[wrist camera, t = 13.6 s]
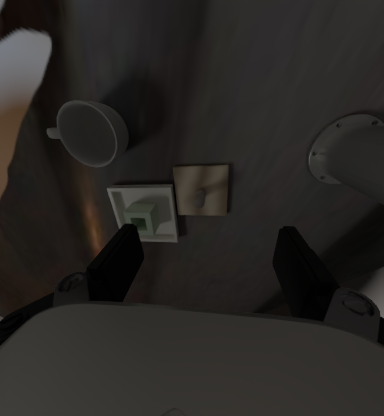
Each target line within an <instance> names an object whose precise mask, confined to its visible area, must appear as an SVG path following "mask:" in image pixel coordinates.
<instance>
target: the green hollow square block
mask: <svg viewBox="0 0 384 416" xmlns="http://www.w3.org/2000/svg"><path fill="white" fill-rule="evenodd" d="M123 214H124V218H125V222H126V223H130V224H134V225H135V226H137V229H138V233H139V235H145V236H154V235H155V233H156V231H157V229H158V227H159V225H160V221H159V215H158V209H157V203H131V205H130V206H129V207H128V208H127V209H126V210H125V211H124V212H123ZM141 218H145V220H142V219H141Z"/></svg>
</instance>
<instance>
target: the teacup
mask: <svg viewBox="0 0 384 416" xmlns="http://www.w3.org/2000/svg"><path fill="white" fill-rule="evenodd" d="M47 134H48V136H49V137H50V138H54V139H61V141H62V143H63V144H64V146H65V147H66V149H67V150H68V152H69V153H70V154H71V155H72V156H73V157H74V158H76V159H77V160H78V161H80V162H82V163H83V164H86V165H88V166H92V167H103V166H106V165H108V164H110V163H111V162H112V161H113V160H115V159H117V158H118V157H120V156H121V155H122V154H123V153H124V152H125V150H126V148H127V146H128V142H129V134H128V129H127V126H126V124H125V122H124V120H123V119H122V117H121V116H120V115H119V114H118V113H117V112H116V111H115V110H114V109H112V108H111V107H109V106H107V105H105V104H102V103H97V102H88V101H81V100H74V101H70V102H67V103H66V104H64V105H63V106H62V107H61V109H60V110H59V112H58V116H57V128H49V129H47Z"/></svg>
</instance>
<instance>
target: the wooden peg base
mask: <svg viewBox="0 0 384 416" xmlns="http://www.w3.org/2000/svg"><path fill="white" fill-rule="evenodd" d="M228 170H229V166H228V165H212V166H177V167H173V173H174V182H175V191H176V200H177V209H178V215H227V193H228Z"/></svg>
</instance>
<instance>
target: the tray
mask: <svg viewBox="0 0 384 416" xmlns="http://www.w3.org/2000/svg"><path fill="white" fill-rule="evenodd" d="M107 191H108V194H109V197H110V200H111V203H112V207H113V210H114V213H115V216H116V219H117V223H118V226H119V229H120V228H121V227H122V226H123V225H124V224H125V223H126V222H125V218H124V214H123V212H124V211H125V210H126V209H127V208H128V207H129V206H130V205H131V203H157V209H158V215H159V221H160V225H159V227H158V229H157V231H156V233H155V235H154V236H145V235H139V237H140V241H155V242H178V239H179V232H178V224H177V215H176V206H175V198H174V189H173V184H161V185H111V186H110V187H108V188H107ZM141 219H142V220H145V218H141Z"/></svg>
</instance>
